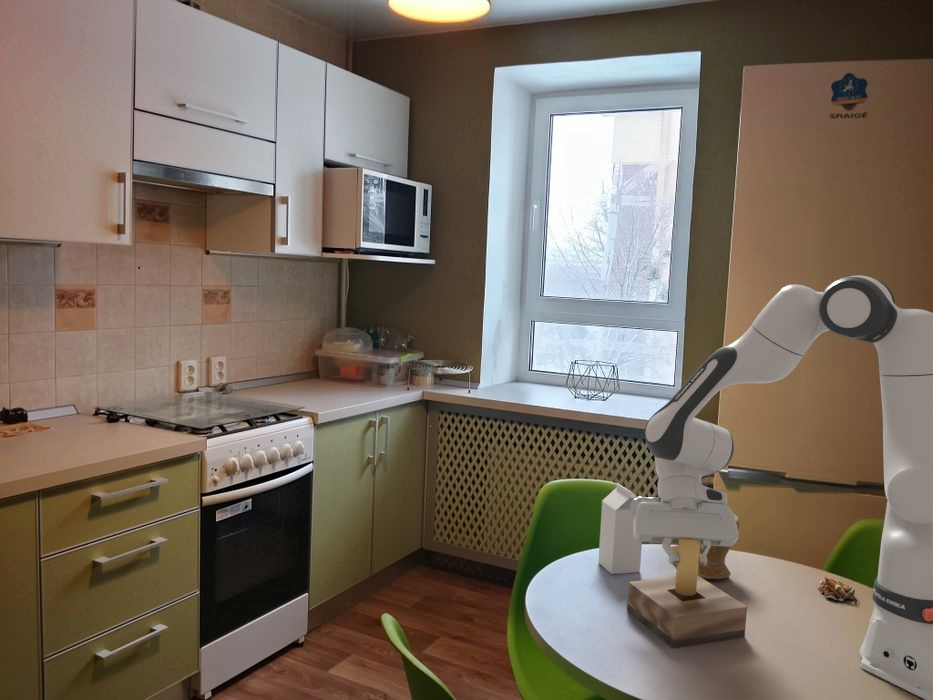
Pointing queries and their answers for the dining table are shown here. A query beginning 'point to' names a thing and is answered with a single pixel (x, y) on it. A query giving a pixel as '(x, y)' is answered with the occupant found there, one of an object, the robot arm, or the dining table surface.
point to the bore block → (686, 612)
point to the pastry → (836, 590)
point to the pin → (687, 567)
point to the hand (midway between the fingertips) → (688, 563)
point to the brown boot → (714, 561)
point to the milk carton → (618, 534)
